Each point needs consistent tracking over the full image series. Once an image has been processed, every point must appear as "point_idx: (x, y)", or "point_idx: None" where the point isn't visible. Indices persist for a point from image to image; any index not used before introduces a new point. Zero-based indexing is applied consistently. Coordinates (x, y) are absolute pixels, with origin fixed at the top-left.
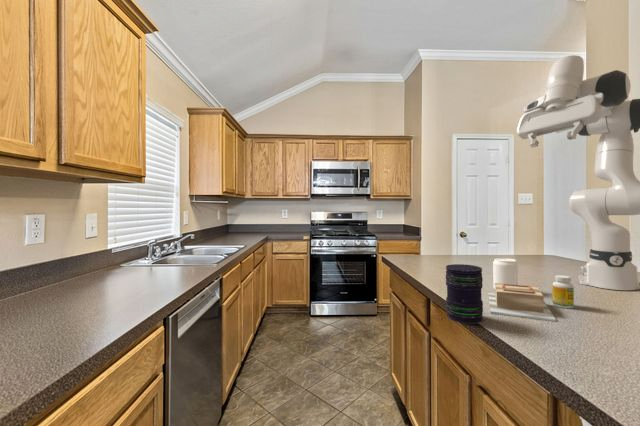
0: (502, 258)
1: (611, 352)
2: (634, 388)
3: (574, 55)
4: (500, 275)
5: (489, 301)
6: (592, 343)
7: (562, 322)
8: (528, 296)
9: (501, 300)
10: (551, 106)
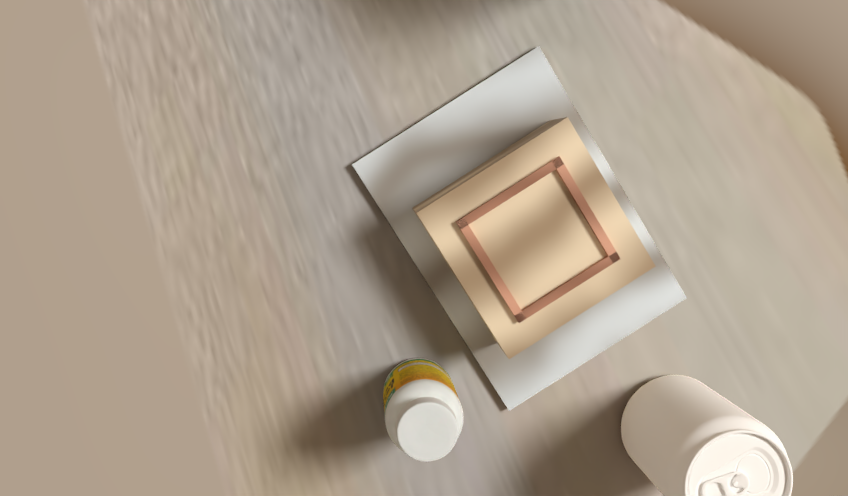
0: None
1: (139, 11)
2: None
3: None
4: (700, 397)
5: (612, 172)
6: (197, 42)
7: (334, 175)
8: (462, 183)
9: (543, 127)
10: None
